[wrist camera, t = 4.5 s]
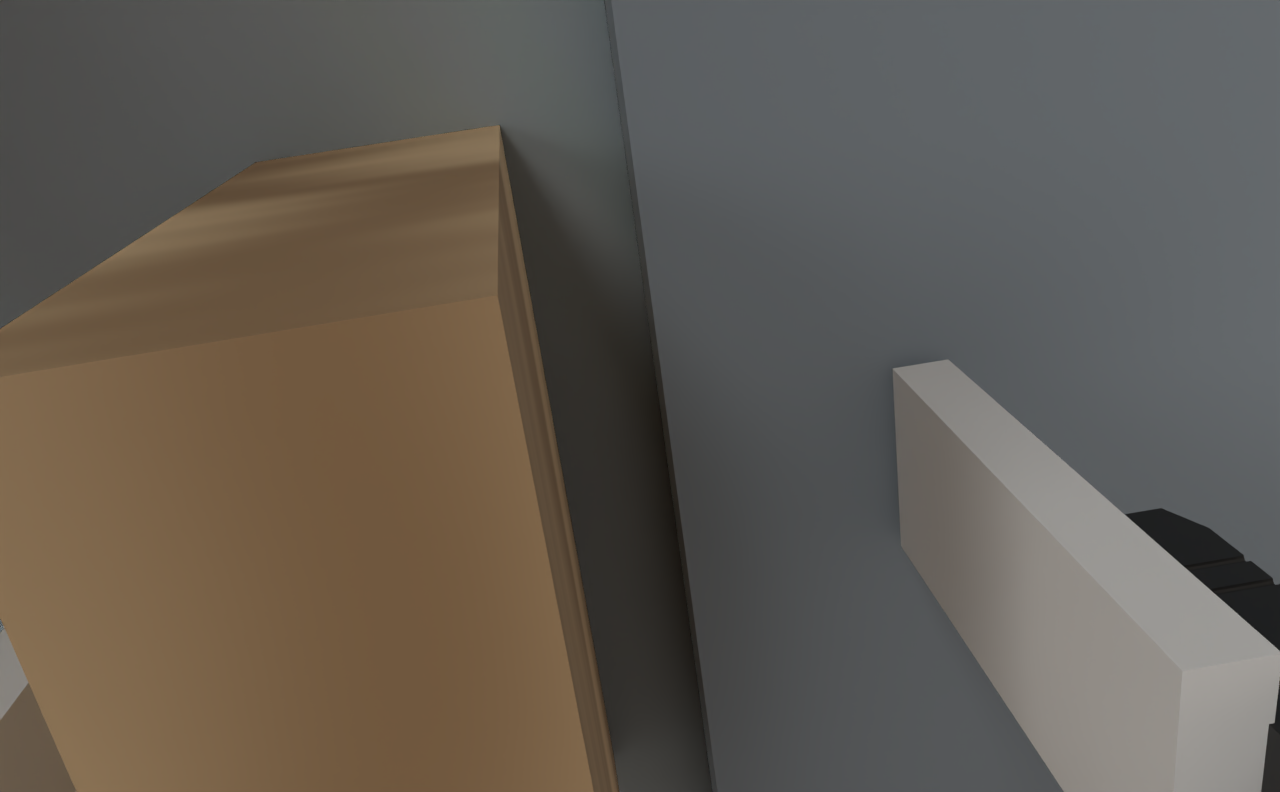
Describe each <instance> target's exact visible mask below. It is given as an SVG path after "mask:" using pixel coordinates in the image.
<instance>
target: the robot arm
mask: <svg viewBox="0 0 1280 792" xmlns="http://www.w3.org/2000/svg"><path fill="white" fill-rule="evenodd" d="M892 369H893V390H894V411H895V431H896V452H897V473H898V493H899V514H900V534H901V547H902V548H903V550H904V551H905V553H906V554H907V556H908V557H909V559H910V560H911V562H912V563H913V565H914V566H915V568H916V569H917V571H918V572H919V574H920V575H921V577H922V578H923V580H924V581H925V583H926V584H927V586H928V587H929V589H930V590H931V592H932V593H933V595H934V596H935V598H936V599H937V601H938V602H939V604H940V605H941V607H942V608H943V610H944V612H945V613H946V615H947V616H948V618H949V619H950V621H951V622H952V624H953V625H954V627H955V628H956V630H957V631H958V633H959V634H960V636H961V637H962V639H963V640H964V642H965V643H966V645H967V646H968V648H969V649H970V651H971V652H972V654H973V655H974V657H975V658H976V660H977V661H978V663H979V664H980V666H981V667H982V669H983V670H984V672H985V673H986V675H987V676H988V678H989V679H990V681H991V682H992V684H993V686H994V687H995V689H996V690H997V692H998V693H999V695H1000V696H1001V698H1002V699H1003V701H1004V702H1005V704H1006V705H1007V707H1008V708H1009V710H1010V711H1011V713H1012V714H1013V716H1014V717H1015V719H1016V720H1017V722H1018V723H1019V725H1020V726H1021V728H1022V729H1023V731H1024V732H1025V734H1026V735H1027V737H1028V738H1029V740H1030V741H1031V743H1032V744H1033V746H1034V747H1035V749H1036V750H1037V752H1038V753H1039V755H1040V756H1041V758H1042V760H1043V761H1044V763H1045V764H1046V766H1047V767H1048V769H1049V770H1050V772H1051V773H1052V775H1053V776H1054V778H1055V779H1056V781H1057V782H1058V784H1059V785H1060V787H1061V788H1062V790H1063V791H1064V792H1280V584H1277V585H1275V584H1274V582H1273V578H1272V577H1271V576H1270V575H1268V574H1267V573H1266V572H1265V571H1263V570H1262V569H1261V568H1259V567H1258V566H1257V565H1256V564H1254V563H1253V562H1252V561H1245V559H1244V555H1243V554H1242V553H1240V552H1239V551H1238V550H1237V549H1235V548H1234V547H1233V546H1232V545H1230V544H1229V543H1228V542H1226V541H1225V540H1224V539H1223V538H1221V537H1220V536H1219V535H1218V534H1216V533H1215V532H1214V531H1213V530H1211V529H1210V528H1208V527H1206V526H1203V525H1201V524H1198V523H1196V522H1194V521H1191V520H1189V519H1186V518H1184V517H1182V516H1179V515H1177V514H1174V513H1172V512H1170V511H1167V510H1165V509H1162V508H1159V509H1153V510H1147V511H1141V512H1135V513H1129V514H1123V513H1122V512H1121V511H1120V510H1119V509H1118V508H1117V507H1115V506H1114V505H1113V504H1112V503H1111V502H1110V501H1109V500H1108V499H1106V498H1105V497H1104V496H1103V495H1102V494H1101V493H1100V492H1098V491H1097V490H1096V489H1095V488H1094V487H1093V486H1092V485H1090V484H1089V483H1088V482H1087V481H1086V480H1085V479H1084V478H1083V477H1081V476H1080V475H1079V474H1078V473H1077V472H1076V471H1075V470H1073V469H1072V468H1071V467H1070V466H1069V465H1068V464H1067V463H1065V462H1064V461H1063V460H1062V459H1061V458H1060V457H1059V456H1057V455H1056V454H1055V453H1054V452H1053V451H1052V450H1051V449H1050V448H1048V447H1047V446H1046V445H1045V444H1044V443H1043V442H1042V441H1040V440H1039V439H1038V438H1037V437H1036V436H1035V435H1034V434H1032V433H1031V432H1030V431H1029V430H1028V429H1027V428H1026V427H1025V426H1023V425H1022V424H1021V423H1020V422H1019V421H1018V420H1017V419H1015V418H1014V417H1013V416H1012V415H1011V414H1010V413H1009V412H1007V411H1006V410H1005V409H1004V408H1003V407H1002V406H1001V405H999V404H998V403H997V402H996V401H995V400H994V399H993V398H992V397H990V396H989V395H988V394H987V393H986V392H985V391H984V390H982V389H981V388H980V387H979V386H978V385H977V384H976V383H974V382H973V381H972V380H971V379H970V378H969V377H968V376H967V375H965V374H964V373H963V372H962V371H961V370H960V369H959V368H957V367H956V366H955V365H954V364H953V363H952V362H951V361H949V360H948V359H947V360H941V361H935V362H929V363H923V364H917V365H911V366H904V367H898V368H892ZM0 792H76V789H75V787H74V785H73V783H72V780H71V778H70V776H69V774H68V771H67V769H66V767H65V764H64V762H63V760H62V758H61V755H60V753H59V751H58V749H57V746H56V744H55V742H54V739H53V737H52V735H51V733H50V730H49V728H48V726H47V723H46V721H45V719H44V717H43V714H42V712H41V710H40V708H39V705H38V703H37V701H36V698H35V696H34V694H33V692H32V689H31V687H30V685H29V683H28V680H27V678H26V676H25V673H24V671H23V669H22V667H21V664H20V662H19V660H18V658H17V655H16V653H15V651H14V648H13V646H12V644H11V642H10V639H9V637H8V635H7V632H6V630H5V628H4V629H3V630H2V631H1V632H0Z"/></svg>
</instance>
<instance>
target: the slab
mask: <svg viewBox="0 0 1280 792" xmlns="http://www.w3.org/2000/svg"><path fill="white" fill-rule="evenodd" d="M0 619H1V621H2V623H3V626H4V628H5V630H6V632H7V635H8V637H9V639H10V642H11V644H12V646H13V648H14V651H15V653H16V655H17V658H18V660H19V662H20V664H21V667H22V669H23V671H24V673H25V676H26V678H27V680H28V683H29V685H30V687H31V689H32V692H33V694H34V696H35V698H36V701H37V703H38V705H39V708H40V710H41V712H42V714H43V717H44V719H45V721H46V723H47V726H48V728H49V730H50V733H51V735H52V737H53V739H54V742H55V744H56V746H57V749H58V751H59V753H60V755H61V758H62V760H63V762H64V764H65V767H66V769H67V771H68V774H69V776H70V778H71V780H72V783H73V785H74V787H75V789H76V792H619V787H618V780H617V774H616V767H615V760H614V754H613V749H612V743H611V737H610V732H609V726H608V721H607V715H606V710H605V704H604V699H603V693H602V688H601V682H600V677H599V671H598V666H597V660H596V655H595V649H594V644H593V638H592V633H591V627H590V622H589V616H588V611H587V605H586V599H585V594H584V588H583V583H582V577H581V572H580V566H579V561H578V555H577V550H576V544H575V539H574V533H573V528H572V522H571V517H570V511H569V506H568V500H567V495H566V489H565V484H564V478H563V472H562V467H561V461H560V456H559V450H558V445H557V439H556V434H555V428H554V423H553V417H552V412H551V406H550V401H549V395H548V390H547V384H546V379H545V373H544V368H543V362H542V357H541V351H540V345H539V340H538V334H537V329H536V323H535V318H534V312H533V307H532V301H531V296H530V290H529V285H528V279H527V274H526V268H525V263H524V257H523V252H522V246H521V241H520V235H519V230H518V224H517V219H516V213H515V207H514V202H513V196H512V191H511V185H510V180H509V174H508V169H507V163H506V158H505V152H504V147H503V141H502V136H501V130H500V125H496V126H489V127H482V128H476V129H469V130H463V131H456V132H450V133H443V134H437V135H430V136H424V137H417V138H411V139H404V140H398V141H391V142H385V143H378V144H371V145H365V146H358V147H352V148H345V149H339V150H332V151H326V152H319V153H313V154H306V155H300V156H293V157H287V158H280V159H274V160H267V161H261V162H255V163H254V164H252V165H251V166H249V167H248V168H246V169H245V170H243V171H242V172H240V173H239V174H237V175H235V176H234V177H232V178H231V179H229V180H228V181H226V182H225V183H223V184H222V185H220V186H219V187H217V188H216V189H214V190H212V191H211V192H209V193H208V194H206V195H205V196H203V197H202V198H200V199H199V200H197V201H196V202H194V203H192V204H191V205H189V206H188V207H186V208H185V209H183V210H182V211H180V212H179V213H177V214H176V215H174V216H173V217H171V218H169V219H168V220H166V221H165V222H163V223H162V224H160V225H159V226H157V227H156V228H154V229H153V230H151V231H150V232H148V233H146V234H145V235H143V236H142V237H140V238H139V239H137V240H136V241H134V242H133V243H131V244H130V245H128V246H127V247H125V248H123V249H122V250H120V251H119V252H117V253H116V254H114V255H113V256H111V257H110V258H108V259H107V260H105V261H104V262H102V263H100V264H99V265H97V266H96V267H94V268H93V269H91V270H90V271H88V272H87V273H85V274H84V275H82V276H80V277H79V278H77V279H76V280H74V281H73V282H71V283H70V284H68V285H67V286H65V287H64V288H62V289H61V290H59V291H57V292H56V293H54V294H53V295H51V296H50V297H48V298H47V299H45V300H44V301H42V302H41V303H39V304H38V305H36V306H34V307H33V308H31V309H30V310H28V311H27V312H25V313H24V314H22V315H21V316H19V317H18V318H16V319H15V320H13V321H11V322H10V323H8V324H7V325H5V326H4V327H2V328H1V329H0Z"/></svg>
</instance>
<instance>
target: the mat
mask: <svg viewBox="0 0 1280 792" xmlns="http://www.w3.org/2000/svg"><path fill="white" fill-rule="evenodd" d="M604 2H605V9H606V17H607V24H608V31H609V38H610V46H611V53H612V60H613V68H614V75H615V82H616V90H617V97H618V104H619V112H620V119H621V126H622V133H623V141H624V148H625V155H626V163H627V170H628V177H629V185H630V192H631V199H632V207H633V214H634V221H635V229H636V236H637V243H638V250H639V258H640V265H641V272H642V280H643V287H644V294H645V302H646V309H647V316H648V324H649V331H650V338H651V345H652V353H653V360H654V367H655V375H656V382H657V389H658V397H659V404H660V411H661V419H662V426H663V433H664V440H665V448H666V455H667V462H668V470H669V477H670V484H671V492H672V499H673V506H674V514H675V521H676V528H677V536H678V543H679V550H680V557H681V565H682V572H683V579H684V587H685V594H686V601H687V609H688V616H689V623H690V631H691V638H692V645H693V652H694V660H695V667H696V674H697V682H698V689H699V696H700V704H701V711H702V718H703V726H704V733H705V740H706V747H707V755H708V762H709V769H710V777H711V784H712V791H713V792H1064V791H1063V790H1062V788H1061V787H1060V785H1059V784H1058V782H1057V781H1056V779H1055V778H1054V776H1053V775H1052V773H1051V772H1050V770H1049V769H1048V767H1047V766H1046V764H1045V763H1044V761H1043V760H1042V758H1041V756H1040V755H1039V753H1038V752H1037V750H1036V749H1035V747H1034V746H1033V744H1032V743H1031V741H1030V740H1029V738H1028V737H1027V735H1026V734H1025V732H1024V731H1023V729H1022V728H1021V726H1020V725H1019V723H1018V722H1017V720H1016V719H1015V717H1014V716H1013V714H1012V713H1011V711H1010V710H1009V708H1008V707H1007V705H1006V704H1005V702H1004V701H1003V699H1002V698H1001V696H1000V695H999V693H998V692H997V690H996V689H995V687H994V686H993V684H992V682H991V681H990V679H989V678H988V676H987V675H986V673H985V672H984V670H983V669H982V667H981V666H980V664H979V663H978V661H977V660H976V658H975V657H974V655H973V654H972V652H971V651H970V649H969V648H968V646H967V645H966V643H965V642H964V640H963V639H962V637H961V636H960V634H959V633H958V631H957V630H956V628H955V627H954V625H953V624H952V622H951V621H950V619H949V618H948V616H947V615H946V613H945V612H944V610H943V608H942V607H941V605H940V604H939V602H938V601H937V599H936V598H935V596H934V595H933V593H932V592H931V590H930V589H929V587H928V586H927V584H926V583H925V581H924V580H923V578H922V577H921V575H920V574H919V572H918V571H917V569H916V568H915V566H914V565H913V563H912V562H911V560H910V559H909V557H908V556H907V554H906V553H905V551H904V550H903V548H902V547H901V534H900V514H899V493H898V473H897V452H896V431H895V411H894V390H893V369H892V368H898V367H904V366H911V365H917V364H923V363H929V362H935V361H941V360H947V359H948V360H949V361H951V362H952V363H953V364H954V365H955V366H956V367H957V368H959V369H960V370H961V371H962V372H963V373H964V374H965V375H967V376H968V377H969V378H970V379H971V380H972V381H973V382H974V383H976V384H977V385H978V386H979V387H980V388H981V389H982V390H984V391H985V392H986V393H987V394H988V395H989V396H990V397H992V398H993V399H994V400H995V401H996V402H997V403H998V404H999V405H1001V406H1002V407H1003V408H1004V409H1005V410H1006V411H1007V412H1009V413H1010V414H1011V415H1012V416H1013V417H1014V418H1015V419H1017V420H1018V421H1019V422H1020V423H1021V424H1022V425H1023V426H1025V427H1026V428H1027V429H1028V430H1029V431H1030V432H1031V433H1032V434H1034V435H1035V436H1036V437H1037V438H1038V439H1039V440H1040V441H1042V442H1043V443H1044V444H1045V445H1046V446H1047V447H1048V448H1050V449H1051V450H1052V451H1053V452H1054V453H1055V454H1056V455H1057V456H1059V457H1060V458H1061V459H1062V460H1063V461H1064V462H1065V463H1067V464H1068V465H1069V466H1070V467H1071V468H1072V469H1073V470H1075V471H1076V472H1077V473H1078V474H1079V475H1080V476H1081V477H1083V478H1084V479H1085V480H1086V481H1087V482H1088V483H1089V484H1090V485H1092V486H1093V487H1094V488H1095V489H1096V490H1097V491H1098V492H1100V493H1101V494H1102V495H1103V496H1104V497H1105V498H1106V499H1108V500H1109V501H1110V502H1111V503H1112V504H1113V505H1114V506H1115V507H1117V508H1118V509H1119V510H1120V511H1121V512H1122V513H1123V514H1129V513H1135V512H1141V511H1147V510H1153V509H1159V508H1162V509H1165V510H1167V511H1170V512H1172V513H1174V514H1177V515H1179V516H1182V517H1184V518H1186V519H1189V520H1191V521H1194V522H1196V523H1198V524H1201V525H1203V526H1206V527H1208V528H1210V529H1211V530H1213V531H1214V532H1215V533H1216V534H1218V535H1219V536H1220V537H1221V538H1223V539H1224V540H1225V541H1226V542H1228V543H1229V544H1230V545H1232V546H1233V547H1234V548H1235V549H1237V550H1238V551H1239V552H1240V553H1242V554H1243V555H1244V559H1245V561H1252V562H1253V563H1254V564H1256V565H1257V566H1258V567H1259V568H1261V569H1262V570H1263V571H1265V572H1266V573H1267V574H1268V575H1270V576H1271V577H1272V578H1273V582H1274V584H1275V585H1277V584H1280V0H604Z"/></svg>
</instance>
